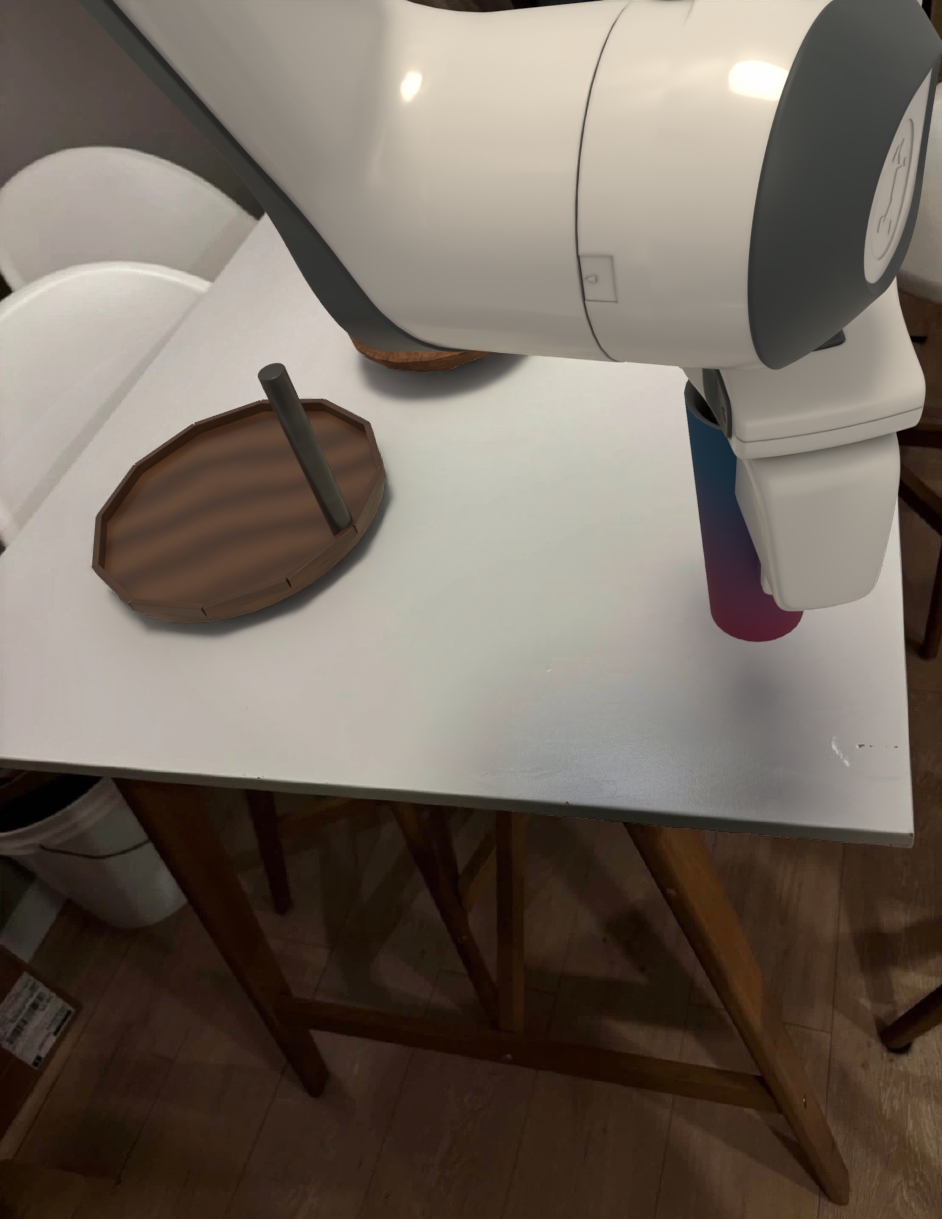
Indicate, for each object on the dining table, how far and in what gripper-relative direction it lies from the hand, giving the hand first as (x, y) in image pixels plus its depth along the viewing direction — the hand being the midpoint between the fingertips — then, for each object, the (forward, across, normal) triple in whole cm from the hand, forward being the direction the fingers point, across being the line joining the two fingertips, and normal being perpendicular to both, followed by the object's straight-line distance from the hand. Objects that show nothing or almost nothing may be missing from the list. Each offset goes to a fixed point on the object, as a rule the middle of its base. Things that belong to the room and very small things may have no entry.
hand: (758, 532), depth 46 cm
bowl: (+14, -50, -18) cm, 55 cm away
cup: (+6, 0, 0) cm, 6 cm away
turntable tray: (+13, -27, -37) cm, 48 cm away
